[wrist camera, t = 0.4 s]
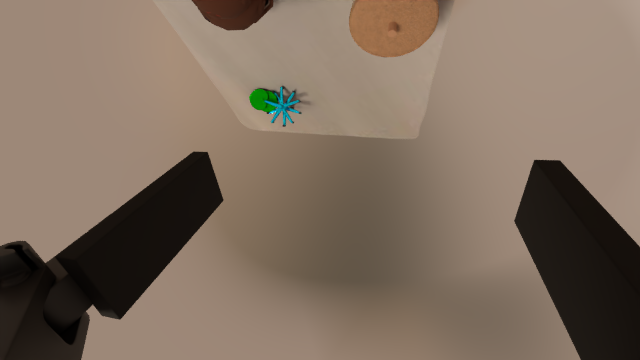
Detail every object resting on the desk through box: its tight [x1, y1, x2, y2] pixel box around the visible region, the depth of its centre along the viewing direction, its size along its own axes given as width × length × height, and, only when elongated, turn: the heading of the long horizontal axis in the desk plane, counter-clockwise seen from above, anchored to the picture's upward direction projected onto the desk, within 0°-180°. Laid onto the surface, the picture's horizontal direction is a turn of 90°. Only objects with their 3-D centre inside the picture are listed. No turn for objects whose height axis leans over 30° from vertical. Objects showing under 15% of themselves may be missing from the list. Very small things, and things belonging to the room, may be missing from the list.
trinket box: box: [349, 0, 439, 57], centre depth 37 cm, size 11×11×9 cm
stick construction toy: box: [249, 87, 302, 127], centre depth 64 cm, size 12×7×8 cm
